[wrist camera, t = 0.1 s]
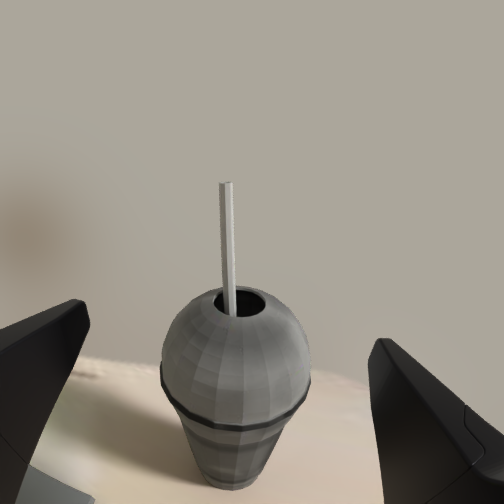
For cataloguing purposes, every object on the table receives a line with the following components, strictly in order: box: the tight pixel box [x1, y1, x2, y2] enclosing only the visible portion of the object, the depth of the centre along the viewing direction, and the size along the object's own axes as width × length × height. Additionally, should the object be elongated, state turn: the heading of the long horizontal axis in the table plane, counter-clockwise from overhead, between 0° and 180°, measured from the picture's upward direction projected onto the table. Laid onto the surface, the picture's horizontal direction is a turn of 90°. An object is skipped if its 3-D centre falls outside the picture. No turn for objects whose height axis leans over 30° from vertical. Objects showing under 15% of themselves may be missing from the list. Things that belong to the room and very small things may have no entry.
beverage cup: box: [160, 182, 311, 491], centre depth 15 cm, size 7×7×20 cm
